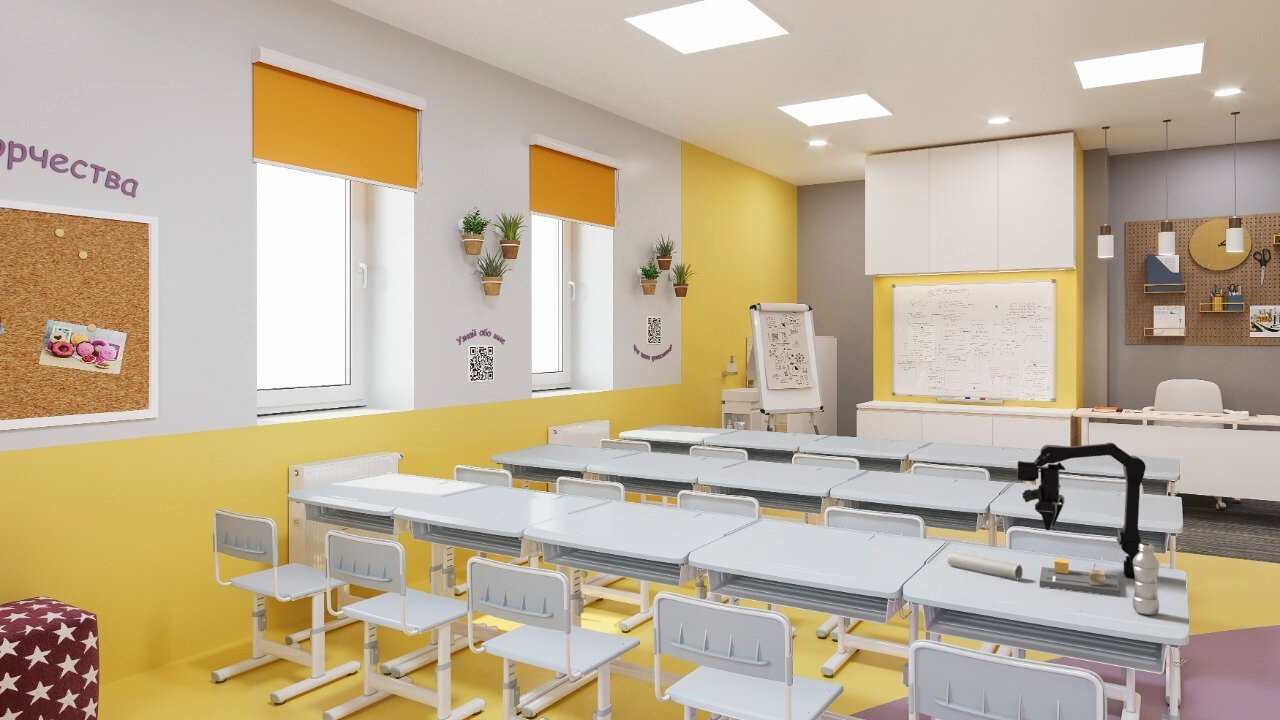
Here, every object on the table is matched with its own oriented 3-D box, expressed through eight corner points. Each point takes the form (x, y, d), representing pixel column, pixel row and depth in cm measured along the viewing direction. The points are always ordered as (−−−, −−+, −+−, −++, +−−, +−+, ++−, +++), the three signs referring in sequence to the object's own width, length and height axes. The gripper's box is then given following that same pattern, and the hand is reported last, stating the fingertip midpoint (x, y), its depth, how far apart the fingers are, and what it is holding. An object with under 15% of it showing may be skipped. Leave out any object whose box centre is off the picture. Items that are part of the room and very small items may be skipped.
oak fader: (1103, 581, 263) (1103, 570, 263) (1104, 586, 258) (1104, 574, 258) (1089, 580, 264) (1089, 569, 264) (1089, 584, 260) (1089, 573, 260)
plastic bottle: (1150, 619, 234) (1151, 548, 234) (1127, 612, 240) (1127, 543, 240) (1164, 615, 237) (1165, 545, 237) (1140, 608, 243) (1141, 540, 243)
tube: (942, 555, 290) (1014, 569, 271) (950, 548, 293) (1021, 561, 274) (945, 569, 291) (1016, 584, 272) (953, 561, 294) (1023, 576, 275)
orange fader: (1068, 570, 276) (1068, 559, 276) (1068, 573, 272) (1068, 563, 272) (1054, 568, 278) (1055, 558, 278) (1054, 572, 274) (1054, 561, 273)
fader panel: (1116, 581, 271) (1116, 574, 271) (1119, 596, 255) (1119, 589, 255) (1041, 572, 281) (1041, 566, 281) (1039, 586, 265) (1039, 580, 265)
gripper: (1029, 476, 298) (1030, 520, 298) (1018, 484, 283) (1018, 530, 283) (1064, 479, 291) (1064, 523, 292) (1054, 487, 276) (1055, 534, 276)
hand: (1050, 527), depth 286 cm, fingers open, 9 cm apart
